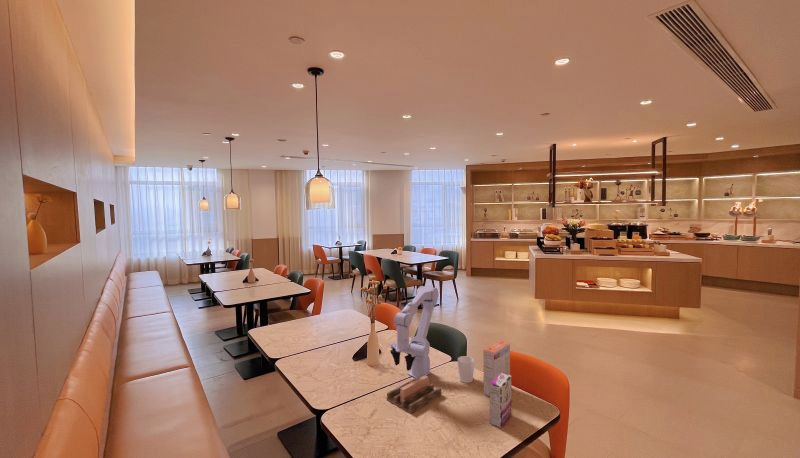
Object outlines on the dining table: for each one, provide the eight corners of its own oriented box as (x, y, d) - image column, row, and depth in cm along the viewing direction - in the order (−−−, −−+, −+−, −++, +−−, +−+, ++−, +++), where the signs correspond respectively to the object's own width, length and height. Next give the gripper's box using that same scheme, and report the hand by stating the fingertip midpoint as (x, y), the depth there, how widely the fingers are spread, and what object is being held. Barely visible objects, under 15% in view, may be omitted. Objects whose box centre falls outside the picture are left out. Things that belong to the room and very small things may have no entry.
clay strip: (425, 387, 162) (425, 375, 161) (428, 389, 160) (428, 376, 160) (400, 401, 150) (400, 388, 150) (403, 403, 149) (403, 389, 149)
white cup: (461, 374, 176) (462, 354, 176) (476, 378, 172) (476, 358, 171) (454, 380, 170) (454, 360, 169) (469, 385, 165) (470, 364, 165)
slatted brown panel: (417, 383, 167) (417, 376, 167) (441, 394, 157) (441, 387, 157) (387, 400, 153) (386, 393, 153) (410, 413, 143) (410, 406, 143)
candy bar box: (499, 410, 145) (500, 371, 144) (511, 414, 142) (512, 375, 141) (488, 424, 136) (489, 383, 135) (501, 429, 133) (501, 387, 132)
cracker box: (498, 383, 167) (499, 340, 166) (510, 387, 163) (511, 343, 162) (482, 394, 158) (482, 348, 156) (494, 399, 153) (494, 352, 152)
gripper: (385, 336, 165) (386, 365, 166) (408, 345, 155) (408, 375, 156) (396, 332, 170) (396, 360, 171) (418, 340, 160) (419, 370, 161)
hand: (403, 367), depth 164 cm, fingers open, 7 cm apart
